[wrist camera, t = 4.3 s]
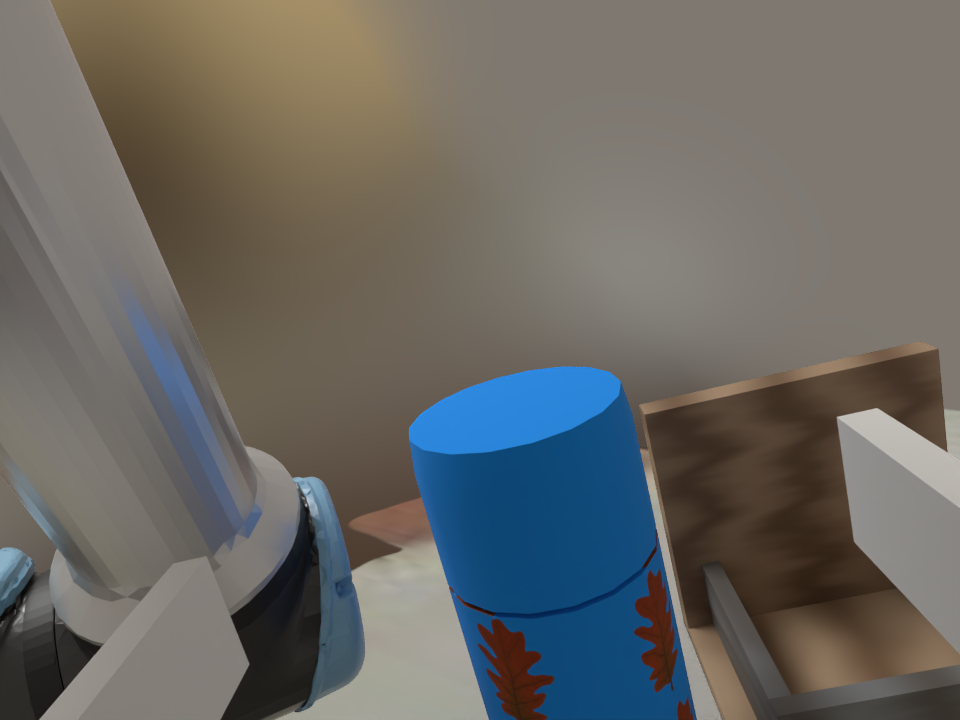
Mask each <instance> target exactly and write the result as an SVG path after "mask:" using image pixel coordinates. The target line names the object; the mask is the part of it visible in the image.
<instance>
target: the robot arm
mask: <svg viewBox="0 0 960 720" xmlns="http://www.w3.org/2000/svg"><path fill="white" fill-rule="evenodd" d="M837 423H838V430H839V438H840V445H841V452H842V459H843V466H844V473H845V481H846V488H847V495H848V502H849V509H850V516H851V523H852V531H853V538H854V542H855V543H856V544H857V545H858V547H859V548H860V549H861V550H862V551H863V552H864V553H865V554H866V555H867V556H868V557H869V558H870V559H871V560H872V561H873V563H874V564H875V565H876V566H877V567H878V568H879V569H880V570H881V571H882V572H883V573H884V574H885V575H886V576H887V577H888V578H889V580H890V581H891V582H892V583H893V584H894V585H895V586H896V587H897V588H898V589H899V590H900V591H901V592H902V593H903V594H904V595H905V597H906V598H907V599H908V600H909V601H910V602H911V603H912V604H913V605H914V606H915V607H916V608H917V609H918V610H919V611H920V612H921V614H922V615H923V616H924V617H925V618H926V619H927V620H928V621H929V622H930V623H931V624H932V625H933V626H934V627H935V628H936V629H937V631H938V632H939V633H940V634H941V635H942V636H943V637H944V638H945V639H946V640H947V641H948V642H949V643H950V644H951V645H952V646H953V648H954V649H955V650H956V651H957V652H958V653H959V654H960V460H958V459H957V458H955V457H954V456H952V455H950V454H949V453H947V452H946V451H944V450H943V449H941V448H939V447H938V446H936V445H935V444H933V443H932V442H930V441H928V440H927V439H925V438H924V437H922V436H921V435H919V434H917V433H916V432H914V431H913V430H911V429H909V428H908V427H906V426H905V425H903V424H902V423H900V422H898V421H897V420H895V419H894V418H892V417H891V416H889V415H887V414H886V413H884V412H883V411H881V410H880V409H878V408H875V409H871V410H866V411H862V412H857V413H853V414H848V415H843V416H839V417H837ZM0 476H1V477H2V478H3V479H4V481H5V482H6V483H7V484H8V486H9V487H10V488H11V490H12V491H13V492H14V493H15V495H16V496H17V497H18V499H19V500H20V501H21V502H22V504H23V505H24V506H25V508H26V509H27V510H28V511H29V513H30V514H31V515H32V516H33V518H34V519H35V520H36V522H37V523H38V524H39V526H40V527H41V528H42V529H43V531H44V532H45V533H46V535H47V536H48V537H49V538H50V539H51V541H52V542H53V543H54V545H55V546H56V547H57V550H56V552H55V555H54V559H53V562H52V566H51V569H50V570H47V571H43V572H39V573H38V572H34V571H35V563H34V560H33V559H32V558H29V557H27V556H26V555H25V554H24V553H23V552H22V551H20V550H19V549H16V548H3V549H1V550H0V720H275V719H277V718H279V717H282V716H284V715H286V714H289V713H291V712H294V711H295V712H301V711H304V710H306V709H308V708H310V707H311V706H312V705H313V704H314V702H315V701H316V700H318V699H320V698H322V697H324V696H326V695H328V694H330V693H332V692H334V691H336V690H338V689H340V688H342V687H344V686H346V685H347V684H349V683H350V682H351V681H352V680H353V679H354V678H355V677H356V676H357V675H358V673H359V671H360V670H361V668H362V665H363V661H364V657H365V639H364V631H363V624H362V618H361V613H360V607H359V603H358V598H357V593H356V590H355V587H354V584H353V583H352V574H351V570H350V563H349V558H348V554H347V550H346V546H345V543H344V538H343V535H342V532H341V528H340V524H339V521H338V518H337V514H336V512H335V508H334V506H333V503H332V500H331V497H330V494H329V492H328V490H327V488H326V486H325V484H324V483H323V482H322V481H321V480H320V479H318V478H315V477H308V478H300V477H297V478H293V479H292V478H291V476H290V475H289V473H288V472H287V470H286V469H285V468H284V466H283V465H282V464H281V463H280V462H279V461H277V460H276V459H275V458H274V457H272V456H270V455H268V454H266V453H264V452H263V451H260V450H257V449H254V448H251V447H247V446H244V444H243V442H242V440H241V438H240V435H239V433H238V431H237V428H236V426H235V424H234V421H233V419H232V417H231V414H230V412H229V410H228V408H227V405H226V403H225V401H224V398H223V396H222V394H221V392H220V389H219V387H218V385H217V382H216V380H215V378H214V375H213V373H212V371H211V369H210V366H209V364H208V362H207V359H206V357H205V355H204V353H203V350H202V348H201V346H200V343H199V341H198V339H197V337H196V334H195V332H194V330H193V328H192V325H191V323H190V320H189V318H188V316H187V313H186V311H185V309H184V307H183V304H182V302H181V300H180V297H179V295H178V293H177V290H176V288H175V286H174V284H173V281H172V279H171V277H170V274H169V272H168V270H167V268H166V265H165V263H164V261H163V258H162V256H161V254H160V252H159V249H158V247H157V245H156V242H155V240H154V238H153V236H152V233H151V231H150V228H149V226H148V224H147V222H146V219H145V217H144V215H143V212H142V210H141V208H140V206H139V203H138V201H137V199H136V196H135V194H134V192H133V189H132V187H131V185H130V183H129V180H128V178H127V176H126V173H125V171H124V169H123V167H122V164H121V162H120V160H119V157H118V155H117V153H116V150H115V148H114V146H113V144H112V141H111V139H110V137H109V134H108V132H107V130H106V128H105V125H104V123H103V121H102V118H101V116H100V114H99V111H98V109H97V107H96V104H95V102H94V100H93V98H92V95H91V93H90V91H89V88H88V86H87V84H86V82H85V79H84V77H83V75H82V72H81V70H80V68H79V65H78V63H77V61H76V59H75V56H74V54H73V52H72V50H71V47H70V45H69V42H68V40H67V38H66V36H65V33H64V31H63V29H62V26H61V24H60V22H59V20H58V17H57V15H56V13H55V10H54V8H53V6H52V3H51V1H50V0H0Z"/></svg>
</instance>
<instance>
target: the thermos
mask: <svg viewBox="0 0 960 720" xmlns="http://www.w3.org/2000/svg"><path fill="white" fill-rule="evenodd" d="M409 436H410V437H409V438H410V440H409V441H410V446H411V453H412V459H413V465H414V471H415V477H416V480H417V483H418V486H419V490H420V493H421V496H422V500H423V503H424V506H425V510H426V513H427V516H428V519H429V523H430V526H431V529H432V533H433V536H434V539H435V543H436V546H437V549H438V552H439V556H440V559H441V562H442V566H443V569H444V572H445V576H446V579H447V582H448V585H449V588H450V592H451V595H452V599H453V602H454V605H455V609H456V612H457V615H458V619H459V622H460V625H461V628H462V632H463V635H464V638H465V642H466V645H467V648H468V652H469V655H470V658H471V661H472V665H473V668H474V671H475V675H476V678H477V681H478V685H479V688H480V691H481V694H482V698H483V701H484V704H485V708H486V711H487V714H488V718H489V720H697V719H696V714H695V709H694V705H693V700H692V695H691V690H690V686H689V681H688V676H687V671H686V667H685V662H684V657H683V652H682V648H681V643H680V638H679V633H678V629H677V624H676V619H675V614H674V610H673V605H672V600H671V595H670V591H669V586H668V581H667V576H666V571H665V567H664V562H663V557H662V552H661V548H660V543H659V538H658V533H657V529H656V524H655V519H654V514H653V510H652V505H651V500H650V495H649V491H648V486H647V481H646V476H645V472H644V467H643V462H642V457H641V453H640V448H639V443H638V438H637V434H636V429H635V424H634V420H633V415H632V412H631V409H630V406H629V403H628V401H627V398H626V395H625V392H624V389H623V386H622V384H621V381H619V380H618V379H617V378H616V377H615V376H614V375H613V374H611V373H610V372H607V371H603V370H599V369H594V368H591V367H556V368H546V369H539V370H530V371H526V372H521V373H517V374H512V375H508V376H503V377H499V378H496V379H493V380H490V381H487V382H484V383H481V384H478V385H475V386H472V387H469V388H466V389H464V390H462V391H460V392H458V393H456V394H453V395H451V396H449V397H447V398H445V399H443V400H441V401H440V402H438V403H436V404H435V405H433V406H432V407H430V408H429V409H427V410H426V411H424V412H423V413H421V414H420V416H419V417H418V418H417V419H416V420H415V422H414V423H413V424H412V425H411V427H410V428H409Z"/></svg>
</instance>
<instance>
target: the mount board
mask: <svg viewBox="0 0 960 720" xmlns="http://www.w3.org/2000/svg"><path fill="white" fill-rule="evenodd" d="M639 407H640V412H641V417H642V421H643V426H644V431H645V436H646V440H647V446H648V451H649V455H650V460H651V465H652V470H653V475H654V480H655V484H656V489H657V494H658V499H659V504H660V509H661V513H662V518H663V523H664V528H665V533H666V537H667V542H668V547H669V552H670V557H671V562H672V566H673V571H674V576H675V581H676V586H677V591H678V595H679V600H680V605H681V610H682V615H683V620H684V624H685V626H686V629H687V631H688V634H689V636H690V639H691V641H692V644H693V646H694V649H695V651H696V654H697V657H698V659H699V662H700V664H701V667H702V669H703V672H704V674H705V677H706V679H707V682H708V684H709V687H710V689H711V692H712V695H713V697H714V700H715V702H716V705H717V707H718V710H719V712H720V715H721V717H722V720H960V654H959V653H958V652H957V651H956V650H955V649H954V648H953V646H952V645H951V644H950V643H949V642H948V641H947V640H946V639H945V638H944V637H943V636H942V635H941V634H940V633H939V632H938V631H937V629H936V628H935V627H934V626H933V625H932V624H931V623H930V622H929V621H928V620H927V619H926V618H925V617H924V616H923V615H922V614H921V612H920V611H919V610H918V609H917V608H916V607H915V606H914V605H913V604H912V603H911V602H910V601H909V600H908V599H907V598H906V597H905V595H904V594H903V593H902V592H901V591H900V590H899V589H898V588H897V587H896V586H895V585H894V584H893V583H892V582H891V581H890V580H889V578H888V577H887V576H886V575H885V574H884V573H883V572H882V571H881V570H880V569H879V568H878V567H877V566H876V565H875V564H874V563H873V561H872V560H871V559H870V558H869V557H868V556H867V555H866V554H865V553H864V552H863V551H862V550H861V549H860V548H859V547H858V545H857V544H856V543H855V542H854V538H853V531H852V523H851V516H850V509H849V502H848V495H847V488H846V481H845V473H844V466H843V459H842V452H841V445H840V438H839V430H838V423H837V417H839V416H843V415H848V414H853V413H857V412H862V411H866V410H871V409H875V408H878V409H880V410H881V411H883V412H884V413H886V414H887V415H889V416H891V417H892V418H894V419H895V420H897V421H898V422H900V423H902V424H903V425H905V426H906V427H908V428H909V429H911V430H913V431H914V432H916V433H917V434H919V435H921V436H922V437H924V438H925V439H927V440H928V441H930V442H932V443H933V444H935V445H936V446H938V447H939V448H941V449H943V450H944V451H946V452H947V441H946V430H945V419H944V407H943V396H942V385H941V374H940V362H939V351H938V348H935V347H933V346H931V345H928V344H926V343H923V342H921V341H919V342H915V343H910V344H906V345H902V346H897V347H893V348H888V349H884V350H879V351H876V352H871V353H867V354H862V355H857V356H853V357H849V358H844V359H840V360H836V361H831V362H826V363H822V364H818V365H813V366H809V367H804V368H800V369H795V370H791V371H787V372H782V373H778V374H773V375H769V376H765V377H760V378H755V379H751V380H747V381H742V382H738V383H734V384H729V385H725V386H720V387H716V388H711V389H707V390H703V391H698V392H693V393H689V394H685V395H680V396H676V397H671V398H667V399H662V400H658V401H654V402H650V403H645V404H641V405H639Z"/></svg>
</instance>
